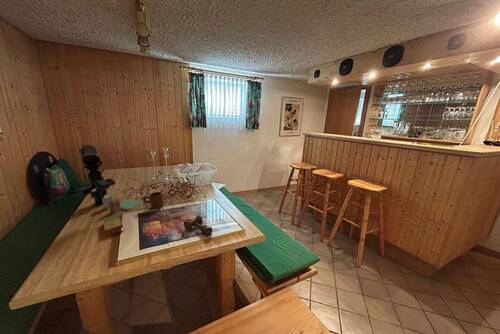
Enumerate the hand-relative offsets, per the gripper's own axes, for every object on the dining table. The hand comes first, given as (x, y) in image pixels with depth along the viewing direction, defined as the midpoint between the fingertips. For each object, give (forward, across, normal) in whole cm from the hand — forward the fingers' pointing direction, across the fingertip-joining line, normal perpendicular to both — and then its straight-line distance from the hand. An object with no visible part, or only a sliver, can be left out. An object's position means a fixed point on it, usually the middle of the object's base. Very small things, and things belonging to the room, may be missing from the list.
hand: (100, 199), depth 117 cm
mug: (+12, +20, -20) cm, 31 cm away
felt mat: (+12, +19, 0) cm, 22 cm away
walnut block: (+12, +8, 0) cm, 15 cm away
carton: (+13, -7, -16) cm, 21 cm away
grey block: (+12, +11, +10) cm, 19 cm away
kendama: (+12, +5, -63) cm, 65 cm away
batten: (+12, +11, 0) cm, 16 cm away
